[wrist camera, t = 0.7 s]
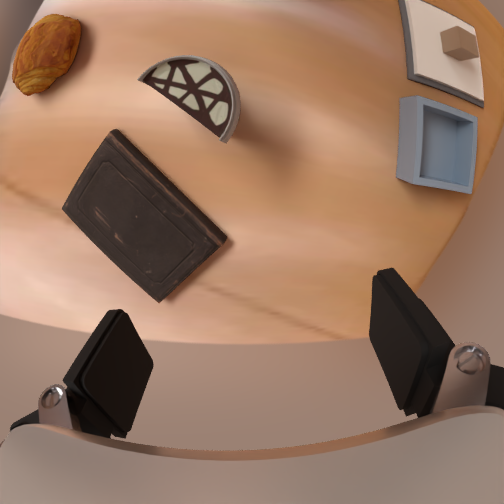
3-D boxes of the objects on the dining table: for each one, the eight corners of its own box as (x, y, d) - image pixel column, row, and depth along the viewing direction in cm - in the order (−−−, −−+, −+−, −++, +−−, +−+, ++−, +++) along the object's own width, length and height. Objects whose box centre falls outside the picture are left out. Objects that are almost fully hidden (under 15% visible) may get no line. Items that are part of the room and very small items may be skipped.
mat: (396, -8, 21) (397, -10, 21) (472, 27, 21) (473, 27, 20) (407, 78, 28) (409, 78, 28) (482, 107, 28) (483, 107, 27)
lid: (404, -3, 21) (421, -16, 16) (471, 29, 21) (490, 23, 15) (414, 74, 27) (436, 68, 22) (480, 100, 27) (503, 101, 21)
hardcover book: (163, 296, 44) (158, 303, 42) (69, 205, 38) (61, 208, 36) (228, 235, 40) (226, 241, 37) (119, 128, 33) (111, 129, 31)
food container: (264, 107, 32) (266, 97, 22) (233, 142, 34) (223, 144, 24) (193, 56, 28) (172, 32, 19) (164, 89, 30) (133, 77, 21)
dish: (399, 98, 30) (417, 95, 25) (458, 116, 29) (477, 117, 25) (395, 177, 34) (412, 184, 30) (453, 186, 34) (471, 194, 30)
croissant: (28, 94, 30) (-2, 100, 23) (43, 20, 22) (14, 18, 15) (76, 92, 31) (44, 96, 24) (98, 7, 23) (68, -1, 16)
